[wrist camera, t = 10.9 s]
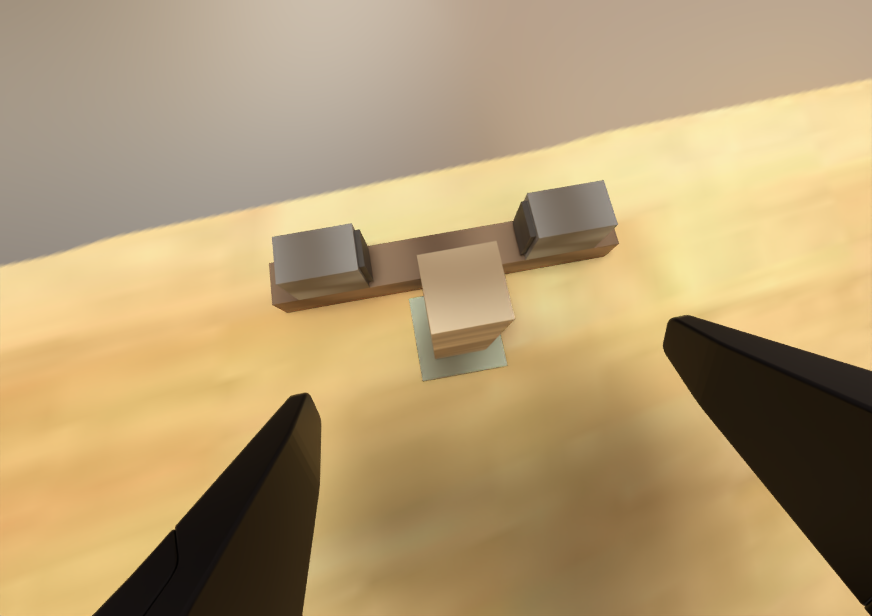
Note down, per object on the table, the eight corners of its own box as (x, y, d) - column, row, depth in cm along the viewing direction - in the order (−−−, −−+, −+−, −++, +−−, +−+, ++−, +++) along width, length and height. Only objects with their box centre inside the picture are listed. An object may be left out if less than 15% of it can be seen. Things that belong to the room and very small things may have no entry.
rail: (593, 220, 24) (632, 175, 19) (630, 342, 22) (684, 327, 17) (283, 274, 23) (241, 242, 18) (295, 405, 21) (252, 407, 17)
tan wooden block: (485, 350, 22) (514, 318, 13) (435, 359, 22) (431, 334, 13) (473, 296, 23) (494, 233, 14) (425, 305, 22) (415, 247, 14)
